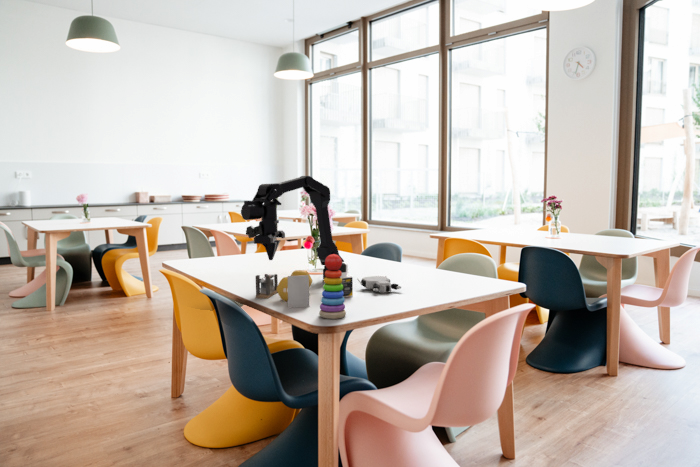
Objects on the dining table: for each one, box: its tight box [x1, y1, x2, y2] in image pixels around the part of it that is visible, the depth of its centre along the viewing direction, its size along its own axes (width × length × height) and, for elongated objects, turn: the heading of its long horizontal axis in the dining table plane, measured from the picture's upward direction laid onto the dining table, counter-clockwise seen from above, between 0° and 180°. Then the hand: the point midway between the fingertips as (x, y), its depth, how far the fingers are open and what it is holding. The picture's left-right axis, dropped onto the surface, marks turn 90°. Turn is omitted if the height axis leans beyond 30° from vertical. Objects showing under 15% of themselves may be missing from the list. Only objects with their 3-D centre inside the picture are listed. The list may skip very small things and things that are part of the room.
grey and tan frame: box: [255, 273, 279, 299], centre depth 185 cm, size 11×5×8 cm, turn 170°
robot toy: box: [356, 275, 402, 294], centre depth 193 cm, size 12×4×15 cm
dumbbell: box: [276, 269, 313, 302], centre depth 184 cm, size 19×9×8 cm, turn 171°
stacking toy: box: [318, 254, 347, 320], centre depth 154 cm, size 8×8×19 cm
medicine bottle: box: [339, 261, 354, 298], centre depth 184 cm, size 7×7×12 cm
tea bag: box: [287, 274, 311, 309], centre depth 168 cm, size 4×7×10 cm, turn 100°
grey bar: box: [259, 274, 275, 284], centre depth 185 cm, size 10×2×1 cm, turn 170°
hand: (270, 260), depth 191 cm, fingers closed
